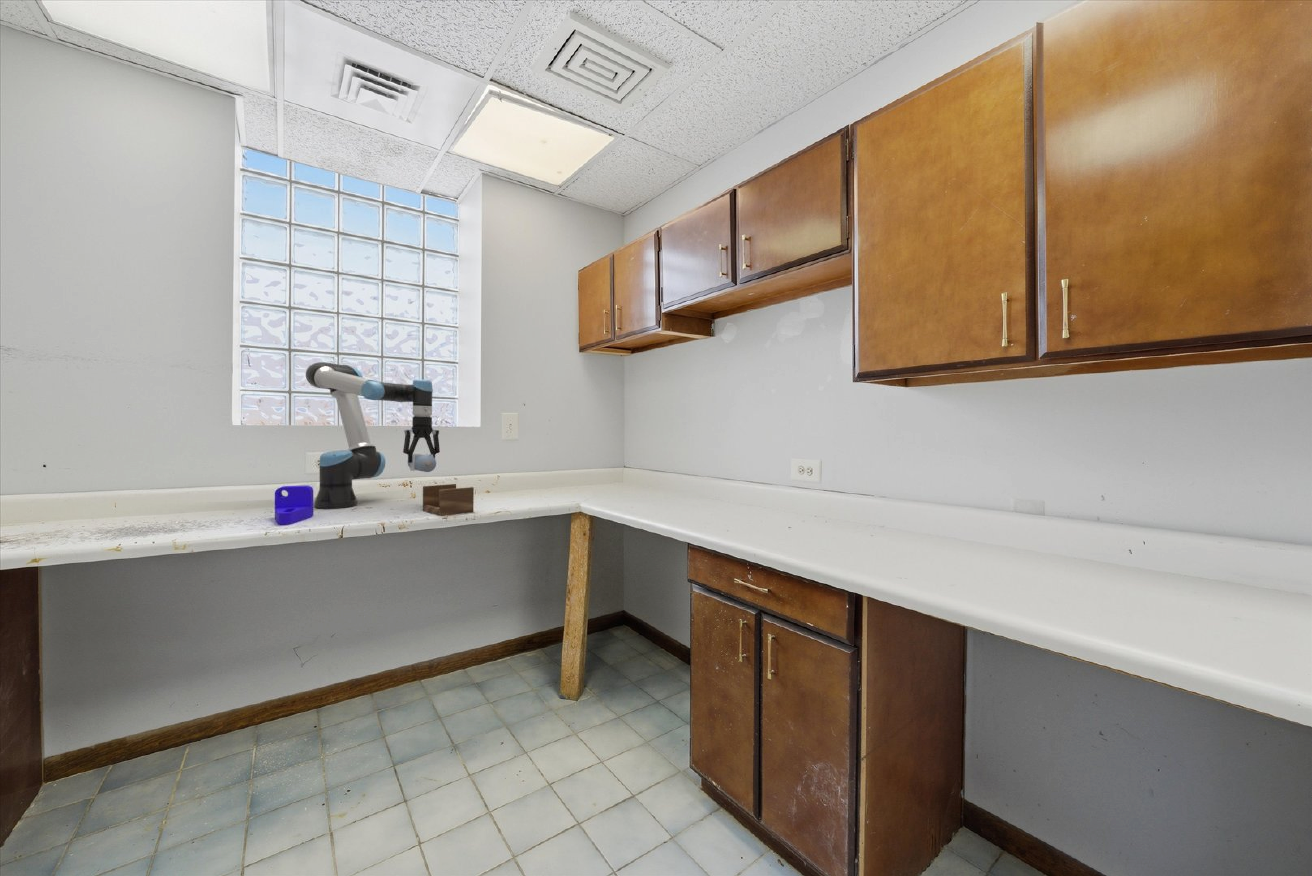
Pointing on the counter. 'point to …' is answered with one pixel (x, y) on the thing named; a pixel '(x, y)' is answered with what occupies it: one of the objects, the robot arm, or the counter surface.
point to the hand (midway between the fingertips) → (421, 469)
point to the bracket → (293, 504)
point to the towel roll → (424, 463)
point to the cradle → (447, 499)
